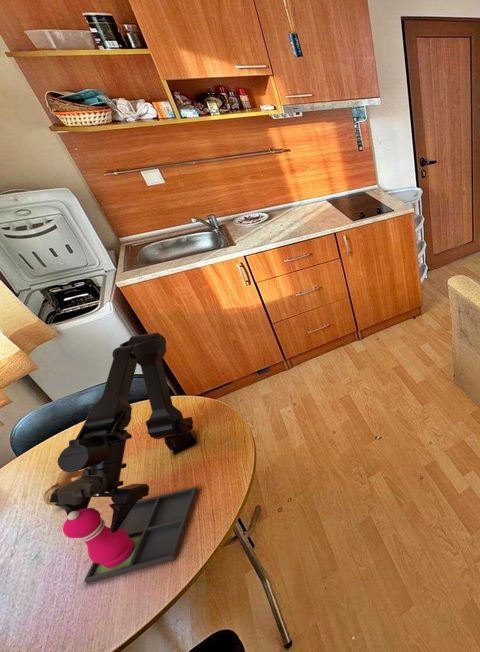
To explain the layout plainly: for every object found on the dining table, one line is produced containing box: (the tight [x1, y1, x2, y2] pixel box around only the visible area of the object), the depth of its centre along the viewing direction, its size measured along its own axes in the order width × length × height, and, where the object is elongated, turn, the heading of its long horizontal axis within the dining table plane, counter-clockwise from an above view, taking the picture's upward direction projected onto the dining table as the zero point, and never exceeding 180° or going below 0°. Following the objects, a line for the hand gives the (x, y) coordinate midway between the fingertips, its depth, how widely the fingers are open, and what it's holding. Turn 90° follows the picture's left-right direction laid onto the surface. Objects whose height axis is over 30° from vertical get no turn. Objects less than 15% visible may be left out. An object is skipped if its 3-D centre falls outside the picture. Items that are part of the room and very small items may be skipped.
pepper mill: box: [62, 507, 134, 568], centre depth 87 cm, size 7×7×20 cm
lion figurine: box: [42, 470, 84, 510], centre depth 104 cm, size 15×5×9 cm, turn 34°
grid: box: [83, 486, 199, 585], centre depth 97 cm, size 18×18×2 cm
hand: (94, 532), depth 86 cm, fingers open, 9 cm apart
